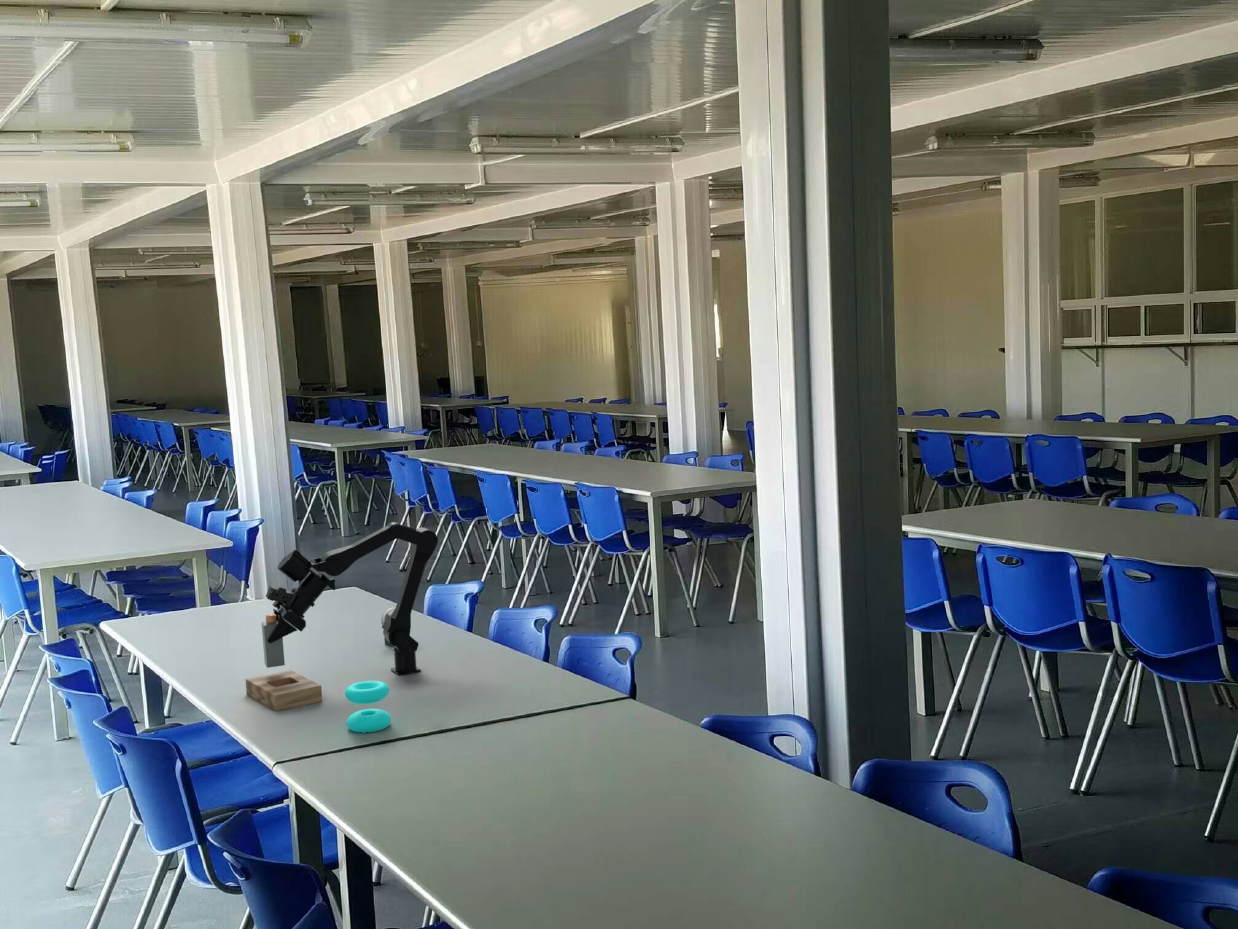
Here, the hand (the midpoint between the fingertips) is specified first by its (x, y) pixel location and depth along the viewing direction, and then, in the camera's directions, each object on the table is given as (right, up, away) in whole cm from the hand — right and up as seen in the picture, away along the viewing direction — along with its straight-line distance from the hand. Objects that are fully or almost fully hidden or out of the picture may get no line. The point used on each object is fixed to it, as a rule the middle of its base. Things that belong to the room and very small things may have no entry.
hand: (267, 640), depth 315 cm
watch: (+25, -8, +45) cm, 52 cm away
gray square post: (+2, -6, +1) cm, 7 cm away
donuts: (+33, -16, -32) cm, 48 cm away
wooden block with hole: (+6, -14, -5) cm, 16 cm away
